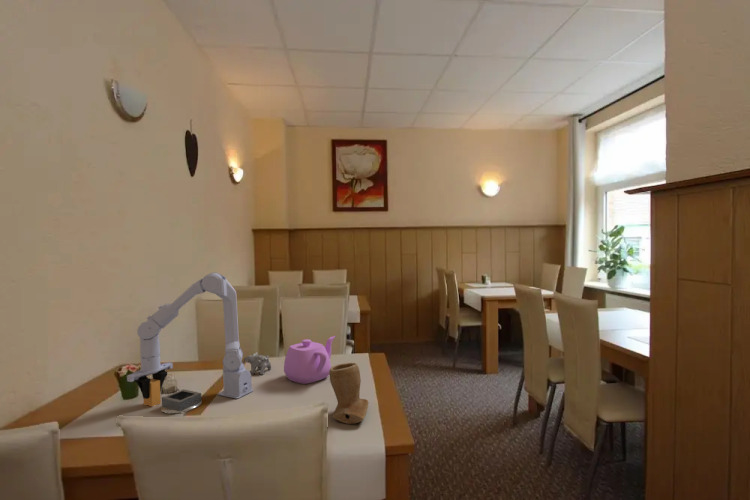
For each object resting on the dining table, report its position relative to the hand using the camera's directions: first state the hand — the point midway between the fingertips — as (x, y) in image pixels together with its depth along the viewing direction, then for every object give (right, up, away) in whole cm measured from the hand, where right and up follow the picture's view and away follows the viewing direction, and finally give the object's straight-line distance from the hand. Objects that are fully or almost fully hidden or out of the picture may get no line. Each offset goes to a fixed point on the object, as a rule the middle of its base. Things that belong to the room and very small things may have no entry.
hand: (151, 395), depth 125 cm
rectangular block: (0, -3, 0) cm, 3 cm away
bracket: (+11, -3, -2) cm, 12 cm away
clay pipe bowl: (+68, -1, -12) cm, 69 cm away
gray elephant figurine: (+26, -2, +30) cm, 39 cm away
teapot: (+50, -1, +21) cm, 54 cm away
